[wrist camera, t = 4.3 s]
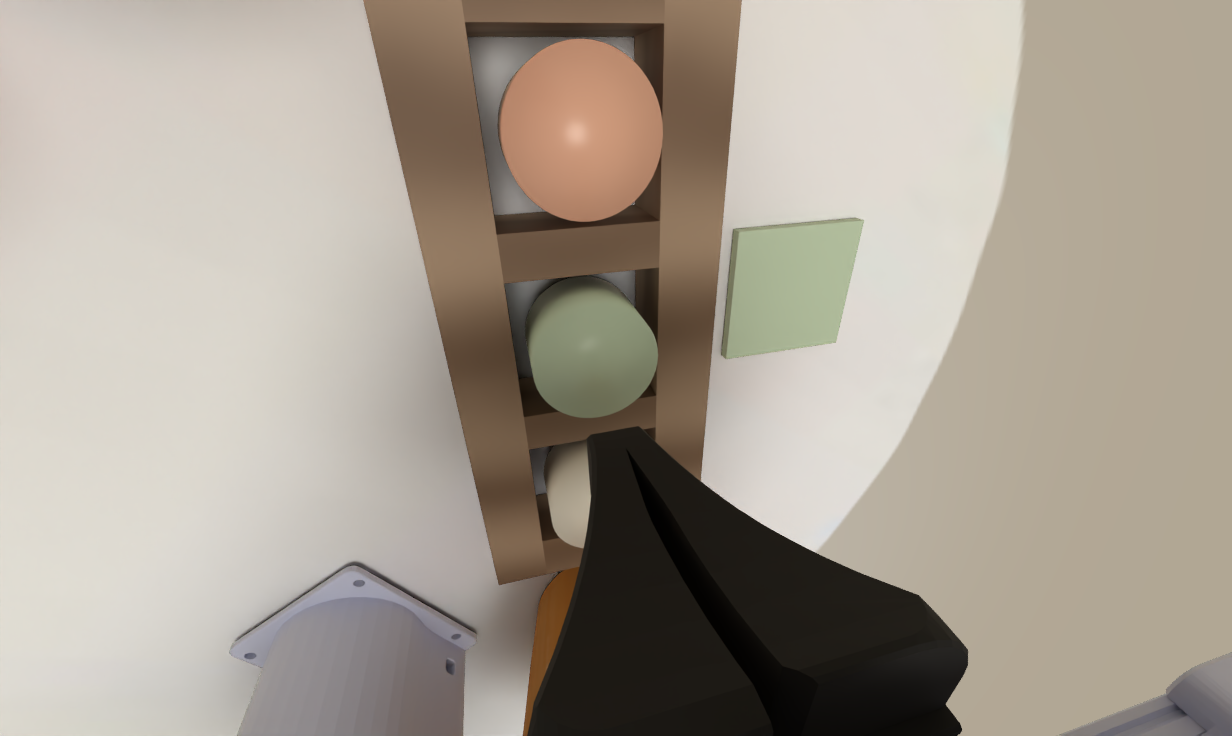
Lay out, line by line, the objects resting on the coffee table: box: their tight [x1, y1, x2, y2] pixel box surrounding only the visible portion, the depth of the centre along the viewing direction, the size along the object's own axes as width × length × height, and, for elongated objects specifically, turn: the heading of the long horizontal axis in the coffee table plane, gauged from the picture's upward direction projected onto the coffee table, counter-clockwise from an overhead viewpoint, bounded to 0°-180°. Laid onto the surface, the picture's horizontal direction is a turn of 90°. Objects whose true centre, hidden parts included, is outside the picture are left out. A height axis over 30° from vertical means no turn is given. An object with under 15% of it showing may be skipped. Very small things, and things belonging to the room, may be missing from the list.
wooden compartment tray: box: [363, 0, 742, 585], centre depth 19 cm, size 24×10×3 cm, turn 2°
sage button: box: [525, 276, 658, 418], centre depth 17 cm, size 4×4×3 cm
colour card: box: [721, 218, 864, 359], centre depth 22 cm, size 6×6×1 cm
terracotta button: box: [498, 39, 663, 222], centre depth 14 cm, size 4×4×3 cm
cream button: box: [544, 440, 591, 548], centre depth 21 cm, size 4×4×3 cm
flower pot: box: [523, 567, 579, 736], centre depth 24 cm, size 14×14×13 cm
